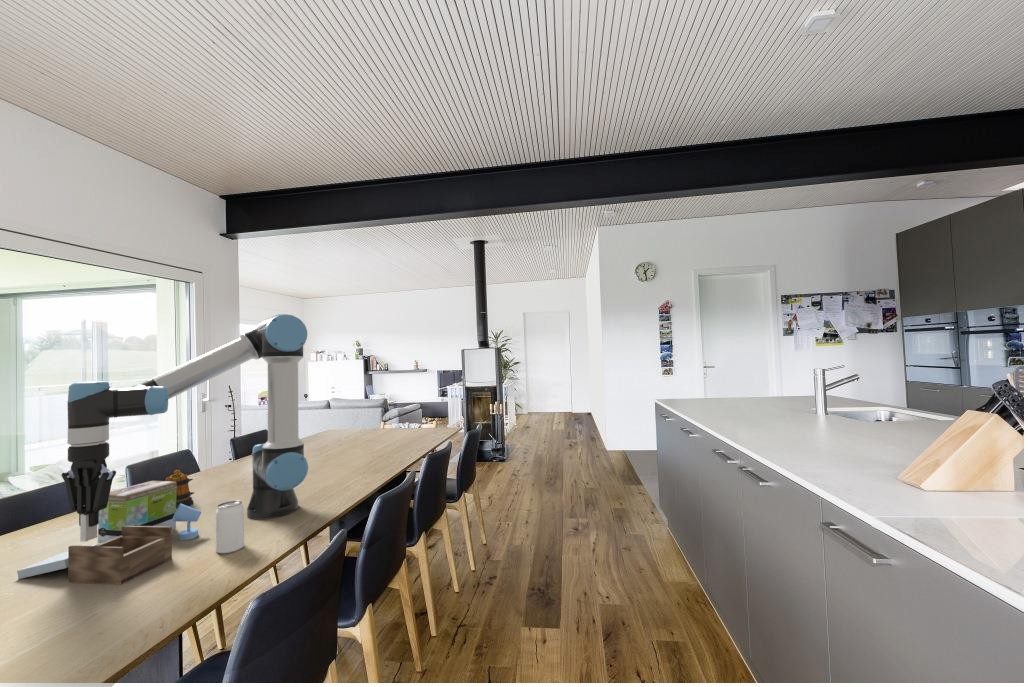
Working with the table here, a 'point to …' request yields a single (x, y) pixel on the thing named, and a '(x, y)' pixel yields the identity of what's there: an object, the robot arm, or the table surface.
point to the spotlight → (187, 520)
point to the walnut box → (121, 556)
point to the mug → (181, 488)
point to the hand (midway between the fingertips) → (88, 539)
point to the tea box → (138, 508)
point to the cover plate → (46, 565)
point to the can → (229, 527)
